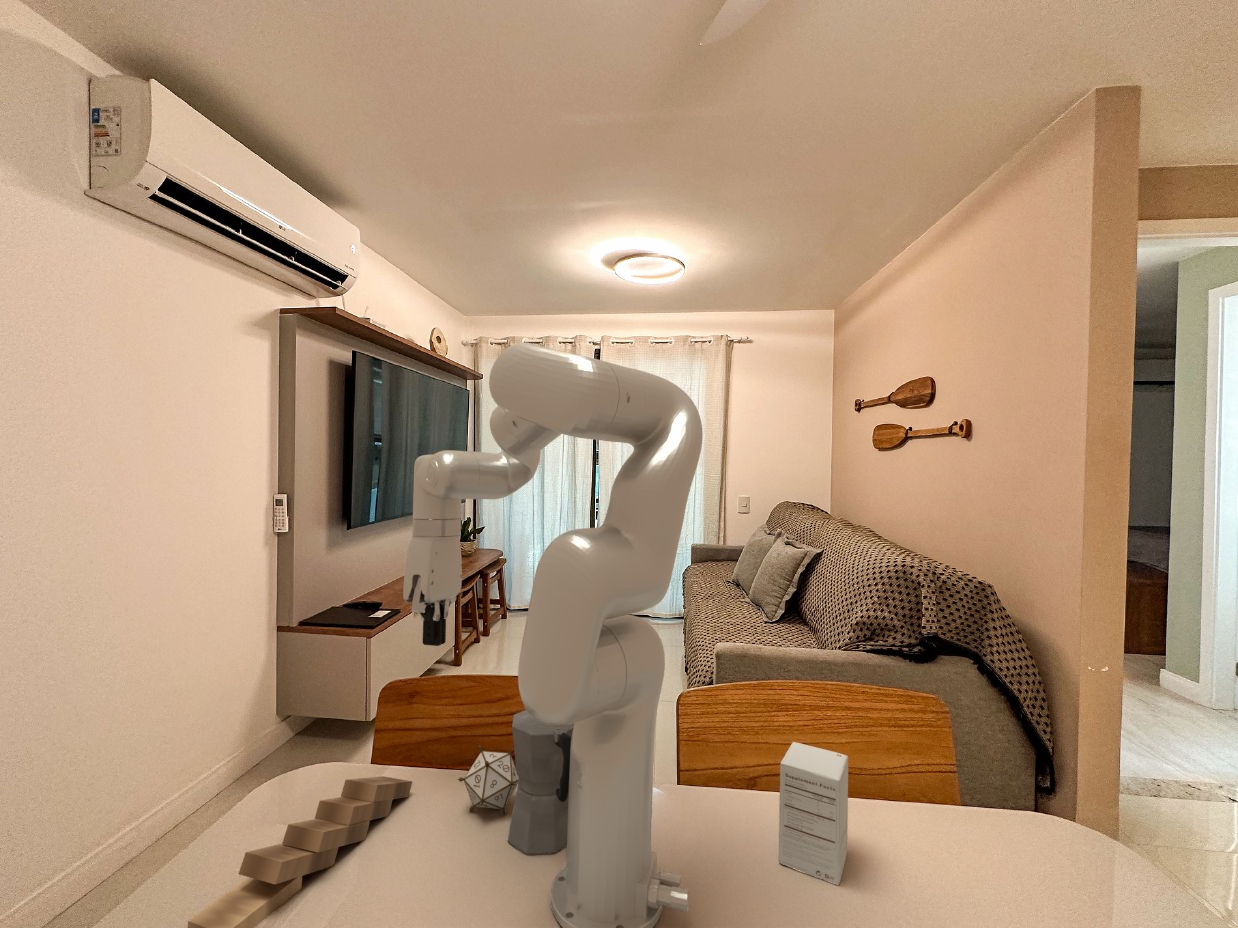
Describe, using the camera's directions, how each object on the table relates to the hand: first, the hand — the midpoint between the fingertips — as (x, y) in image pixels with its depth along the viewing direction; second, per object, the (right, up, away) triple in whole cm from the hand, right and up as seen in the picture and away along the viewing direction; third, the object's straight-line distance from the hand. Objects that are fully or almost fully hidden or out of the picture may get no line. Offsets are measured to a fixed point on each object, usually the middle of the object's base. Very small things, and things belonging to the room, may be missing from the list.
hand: (434, 643), depth 89 cm
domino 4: (-4, -19, -12) cm, 23 cm away
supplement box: (+55, -22, -19) cm, 62 cm away
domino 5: (-3, -19, -7) cm, 21 cm away
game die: (+12, -21, -10) cm, 26 cm away
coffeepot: (+20, -21, -17) cm, 33 cm away
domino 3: (-5, -19, -17) cm, 26 cm away
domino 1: (-8, -18, -26) cm, 33 cm away
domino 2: (-7, -18, -22) cm, 29 cm away
